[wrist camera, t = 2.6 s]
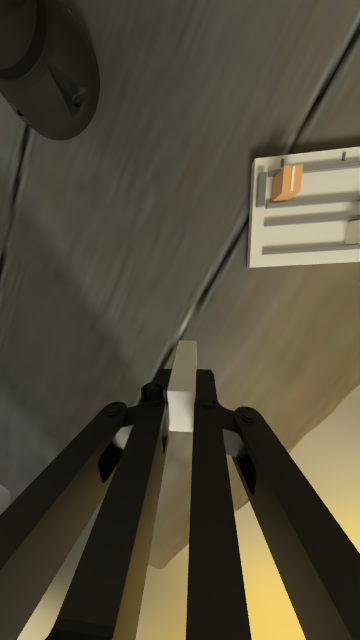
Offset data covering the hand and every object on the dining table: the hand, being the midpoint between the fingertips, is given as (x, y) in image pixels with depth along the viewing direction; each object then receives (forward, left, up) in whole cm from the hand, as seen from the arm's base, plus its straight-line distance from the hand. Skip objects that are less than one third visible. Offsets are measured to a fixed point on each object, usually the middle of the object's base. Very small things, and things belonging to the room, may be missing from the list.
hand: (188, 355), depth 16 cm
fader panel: (-14, +23, -23) cm, 35 cm away
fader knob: (-18, +14, -21) cm, 31 cm away
